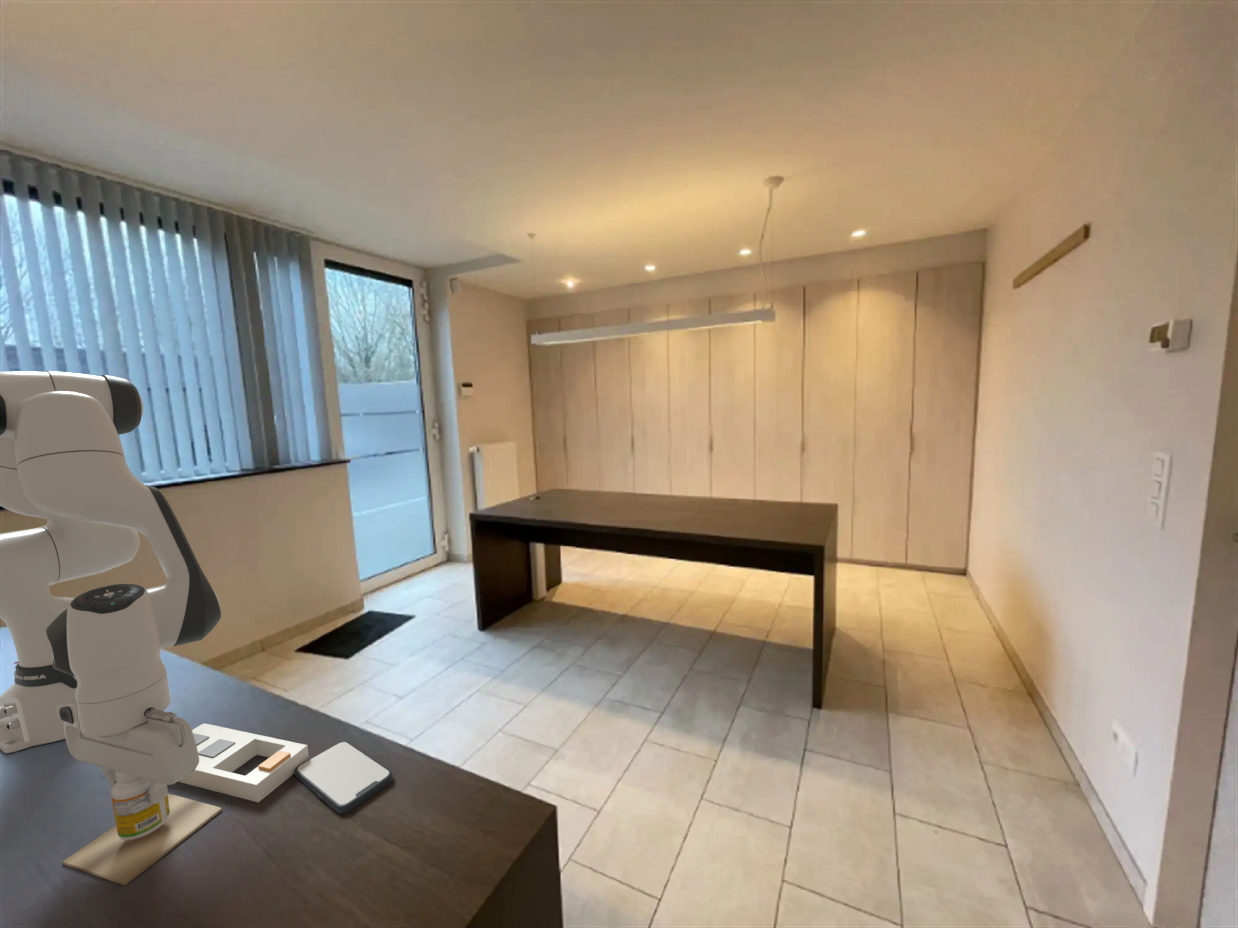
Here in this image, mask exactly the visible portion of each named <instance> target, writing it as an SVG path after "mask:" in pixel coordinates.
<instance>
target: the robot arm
mask: <svg viewBox="0 0 1238 928" xmlns="http://www.w3.org/2000/svg"><path fill="white" fill-rule="evenodd" d="M143 414H144V402H143V400H142V396H141V395H140V392H139V391H138V388H137V387H136V386H135V384H133V383H132V382H131V381H130V380H128V379H127V378H122V377H117V376H113V375H108V374H107V375H106V374H102V375H92V374H87V373H77V372H66V371H57V370H56V371H55V370H54V371H53V370H46V371H23V370H21V371H20V370H19V371H18V370H17V371H15V370H14V371H13V370H12V371H0V507H2V508H3V509H5V510H7V511H9V512H12V513H15V514H19V515H22V516H25V517H26V516H27V517H34V518H39V519H46V520H47V521H46V524H45V525H42V526H38V527H35V528H28V529H21V530H16V531H15V530H14V531H9V532H8V531H7V532H3V533H0V620H1V621H3V623H4V624H5V625H6V626H7V628H8V630H9V633H10V636H11V638H12V641H13V645H14V649H15V652H16V656H17V661H15V662H14V663H13V664H14V665H15V666H14V668H15V669H14V673H13V676H14V683H13V684H12V685H11V686H10V687H9V688H7V690H6V691H5V692H3V693H2V694H1V695H0V750H1V752H3V753H5V754H9V753H14V752H15V753H16V752H19V751H22V750H24V749H28V748H31V747H34V746H39V745H45V744H49V743H54V742H57V741H62V740H65V741H66V744H67V749H68V751H69V753H70V755H71V756H72V758H73V759H74V760H75V761H77V762H80V763H81V762H82V763H85V764H90V765H92V766H96V767H100V768H101V771H102V772H103V774H104V776H106V778H107V779H108V781H109V782H110V786H111V788H112V787H113V786H114V784H115V783H116V782H117V779H116V773H115V771H119V772H122V773H126V774H129V775H133V776H137V777H140V778H144V779H147V782H148V783H151V784H150V789H148V790H147V791H145V796H146V801H147V802H150V803H153V804H156V803H158V802H160V801H161V800H163V799H164V798H165V797H166V796H167V795H168V793H169V791H168V790H169V789H168V786H172V785H174V784H177V782H178V781H179V780H181V779H182V778H184V777H185V776H187V775H188V774H190V773H191V772H192V771H194V770H195V769H196V767H197V766H198V764H199V755H198V750H197V746H196V742H195V738H194V735H193V732H192V730H193V729H192V727H191V726H190V724H189V722H188V721H187V720H186V719H184V718H181V717H180V716H179V717H178V715H177V714H176V713H175V712H172V711H165V710H167V709H168V707H169V706H170V705H171V701H172V700H171V693H170V687H169V679H168V673H167V672H168V671H167V669H166V666H165V664H164V663H163V661H162V658H161V651H162V650H164V649H167V648H170V647H177V646H178V647H179V646H181V645H182V646H183V645H186V644H190V643H194V642H200V641H202V640H203V639H204V638H205V637H206V636H208V635H209V634H210V633H211V632H212V631H213V629H215V627H216V626H217V624H218V623H219V622H220V620H221V619H222V606H221V601H220V598H219V596H218V594H217V592H216V591H215V589H214V588H213V586H212V585H211V583H210V582H209V580H208V578H207V576H206V575H205V573H204V572H203V569H202V568H201V566H200V563H199V562H198V559H197V557H196V555H195V553H194V551H193V549H192V547H191V545H190V543H189V541H188V538H187V537H186V534H185V532H184V531H183V529H182V526H181V524H180V522H179V520H178V517H176V514H175V512H174V511H173V509H172V507H171V505H170V503H169V502H168V500H167V499H166V497H165V495H164V494H163V493H162V492H161V491H160V490H159V489H158V488H157V487H155V486H151V485H146V484H144V483H143V482H141V480H139V478H137V477H136V476H135V475H134V474H133V472H132V471H131V470H130V468H129V466H128V464H127V461H126V457H125V452H124V448H123V445H122V441H121V439H120V435H124V434H127V433H128V434H129V433H131V432H132V431H134V430H135V429H136V428H138V427H139V426H140V424H141V421H142V417H143ZM139 534H141V535H143V536H144V537H145V538H146V540H148V541H147V542H149V544H150V546H151V548H152V550H153V552H154V555H155V556H156V559H157V560H158V562H159V564H160V566H161V568H162V570H163V573H164V575H165V577H166V579H167V581H166V582H165V583H163V584H161V585H157V586H153V587H150V588H149V587H148V588H146V587H144V586H142V585H139V584H135V583H120V584H119V583H117V584H109V585H105V586H101V587H96V588H93V589H90V590H87V591H85V592H83V593H81V594H79V595H77V596H76V597H65V596H63V597H62V596H54V595H53V594H52V593H51V590H50V586H53V585H55V584H58V583H63V582H67V581H71V580H75V579H81V578H85V577H89V576H95V575H98V574H103V573H105V572H108V571H110V570H112V569H115V568H118V567H120V566H123V565H125V564H128V563H130V562H131V561H132V560H133V559H135V557H136V555H137V553H138V551H139V549H140V545H141V544H140V543H141V540H140V535H139Z"/></svg>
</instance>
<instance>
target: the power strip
mask: <svg viewBox="0 0 1238 928" xmlns="http://www.w3.org/2000/svg"><path fill="white" fill-rule="evenodd" d="M192 732H193V735H194V738H195V742H196V746H197V750H198V755H199V764H198V766H197V767H196V769H195V770H194V771H192V772H191V773H190V774H188V775H187V776H185V777H184V778H182V779H181V780H179V781H178V782H179V783H182V784H186V785H190V786H193V787H197V788H200V789H201V788H202V789H205V790H209V791H212V792H217V793H220V794H224V795H228V796H232V797H236V798H238V799H239V798H240V799H243V800H248V801H251V802H255V803H260V802H261V801H263V799H265V798H266V797H267V796H268V795H270V794H271V793H272V792H273V791H275V789H277V788H278V787H279V786H281V784H284V782H286V781H287V780H288V779H289V778H290V777H292V776H293V775H295V769H296V768H297V767H298V766H299V765H300V764H302V763H304V762H306V761H307V760H309V759H310V756H309V755H310V754H309V750H308V749H309V748H308V745H307V744H304V743H299V742H294V741H289V740H285V739H280V738H276V737H272V736H266V735H262V734H256V733H253V732H248V731H243V730H238V729H233V728H229V727H224V726H219V725H214V724H210V723H209V724H208V723H204V722H203V723H202V724H199V725H198V726H196V727H195V728H194V729H192ZM255 756H262V757H265V758H267V759H266V760H264V761H263V762H261V763H260V764H258V766H257V767H255V768H254V769H253V770H252V771H250V772H249V773H247V774H246V775H243V774H239V773H235V771H236V770H237V769H238V768H240V767H241V766H243V765H244V764H246V763H247V762H249V761H250V760H252V759H253V758H254V757H255Z"/></svg>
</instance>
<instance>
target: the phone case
mask: <svg viewBox="0 0 1238 928" xmlns="http://www.w3.org/2000/svg"><path fill="white" fill-rule="evenodd" d="M294 776H295V778H297V779H298V780H299V781H300V782H301V783H302V784H303V785H304V786H305V787H306V788H308V789H309V791H312V793H313V794H314V795H316V796H317V797H318V798H319V799H320V800H321V801H323V802H324V803H325V804H326V805H328V807H330V808H331V809H332V810H334V812H335V813H337V814H338V815H345V814H348V813H350V812H352V811H353V810H355V809H356V808H357V807H358V806H361V805H362V804H363V803H364V802H367V800H369V799H370V798H372V797H373V796H374V795H377V794H378V793H379V792H380V791H382V790H384V788H386V787H388V786H389V785H390V784H391V783H392V782H393V779H394V778H393V777H394V776H393V771H392V770H390V769H389V768H388V767H386V766H385V765H383V764H382V763H380V762H378V761H377V760H376V759H374V758H373V757H371V756H370V755H368V754H367V753H365V752H364V751H362V750H361V749H359V748H357V747H356V746H355V745H354V744H352V743H350V742H349V741H345V740H344V741H343V740H342V741H340V742H337V743H336V744H334V745H332V746H331V747H328V748H326V749H325V750H323V751H322V752H320V753H318V754H316V755H315V756H313V757H311V758H309V760H307V761H306V762H304V763H302V764H300V765H299V766H298V767H297V768H296V769H295V773H294Z"/></svg>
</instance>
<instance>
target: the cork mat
mask: <svg viewBox="0 0 1238 928" xmlns="http://www.w3.org/2000/svg"><path fill="white" fill-rule="evenodd" d="M168 801H169V807H170V815H169V817H168V819H167V820H166V821H165V822H164V823H163V824H162V825H161V826H160V827H159V828H157V829H156V830H154V831H153V832H151V833H149V834H147V835H145V836H142V837H140V838H137V839H133V840H122V839H120V838H119V836H118V832H117V827H116V825H114V826H113V827H111V828H110V829H108V830H107V831H105V832H104V833H102V834H101V835H99V836H98V837H96V838H95V839H93V840H92V841H90V842H89V843H88V844H85V845H84V846H83V847H82V848H80V849H78V850H77V851H75V852H74V853H73V854H71V855H70V856H68V857H66V858H65V859H64V860H62V865H65V866H68V867H71V868H73V869H76V870H80V871H82V872H86V873H87V874H90V875H94V876H95V877H99V878H102V879H105V880H107V881H110V882H113V883H116V884H119V885H122V886H126V885H127V884H129V883H130V882H132V881H133V880H134V879H135V878H137V877H138V876H139V875H140V874H142V873H144V871H146V870H148V869H149V868H150V867H151V866H153V865H154V864H155V863H156V862H158V861H159V860H160V859H162V858H163V857H164V856H165V855H166V854H168V853H169V852H170V851H171V850H173V849H174V848H175V847H177V846H178V845H180V844H181V843H182V842H183V841H184V840H186V839H187V838H189V837H190V836H191V835H192V834H194V833H195V832H196V831H197V830H199V829H200V828H202V826H204V825H205V824H206V823H208V822H209V821H210V820H212V819H213V818H215V817H216V816H217V815H218V814H219V813H221V812H222V811H223V807H220V806H216V805H212V804H209V803H205V802H201V801H198V800H194V799H190V798H187V797H183V796H179V795H176V794H171V793H169V792H168Z"/></svg>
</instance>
